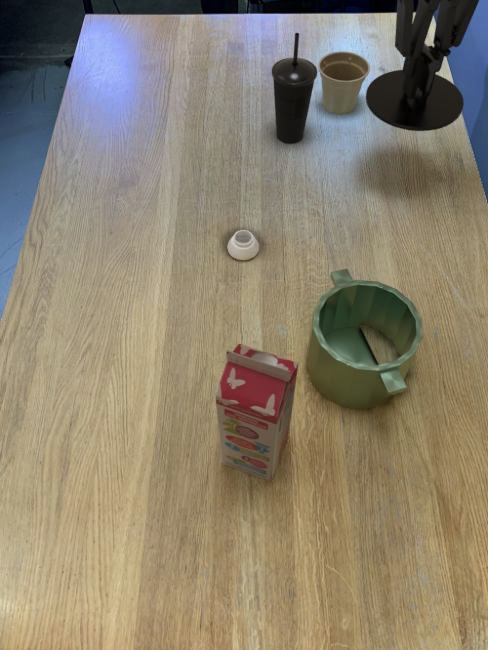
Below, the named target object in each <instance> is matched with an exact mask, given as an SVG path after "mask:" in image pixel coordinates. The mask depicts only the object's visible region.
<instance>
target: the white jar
mask: <svg viewBox="0 0 488 650" xmlns="http://www.w3.org/2000/svg"><path fill="white" fill-rule="evenodd" d="M226 248H227V252H228V254H229V255H230V256H231V257H232V258H234V259H236V260H239V261H240V260H241V261H246V260H251V259H254V258H255V257H256V256H257V255H258V254H259V251H260V244H259V241H258V239H256V237H255V236H254V235H253V233H252V232H250V231H249V230H247V229H241V230H238V231H236V232H234V235H232V237H231V238H230V239H229V241H228V243H227V246H226Z"/></svg>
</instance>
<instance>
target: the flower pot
mask: <svg viewBox="0 0 488 650" xmlns="http://www.w3.org/2000/svg"><path fill="white" fill-rule="evenodd" d="M317 68H318V69H317V70H318V72H319V76H320V78H321V96H322V97H321V98H322V99H321V101H322V102H321V103H322V107H323V108H324V109H325V110H326V111H327V112H328V113H331V114H335V115H345V114H349V113H351V112H352V111H353V110H354V109H355V108H356V104H357V100H358V97H359V95H360V91H361V89H362V86H363V83H364V82H365V80H366V77H368V75H369V74H370V71H371V65H370V62H369V61H368V60H367V59H366V58H365V57H363V56H362V55H360V54H358V53H355V52H352V51H346V50H345V51H343V50H341V51H333V52H330V53H327V54H325V55H324V56H322V57H321V58H320V59H319V61H318V63H317Z"/></svg>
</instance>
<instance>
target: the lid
mask: <svg viewBox="0 0 488 650" xmlns="http://www.w3.org/2000/svg"><path fill="white" fill-rule="evenodd" d="M428 46H429V45H428V44H426V42H425V43H424V46H423V49H422V52H421V55H422V56H423V57H424V63H423V64H424V65H425V66H426V67H427V69H428V73H427V77H426V81H425V85H424V88H423V92H421V90H420V89H419V88H418V87H417V91H416V95H415V99H409V98H408V96H407V95H406V93H405V92H404V91H403V84H404V80H405V75H404V73H403V69H397V70H392V71H388V72H385V73H383V74H381V75H379V76H377V77H376V78H374V79H372V81H371V82H370V84H369V85H368V86H367V89H366V93H365V102H366V105H367V108H368V109H369V111H370V112H371V113H372V114H373V115H374V117H376V118H377V119H378V120H380V121H381V122H383V123H385V124H387V125H390V126H392V127H394V128H397V129H401V130H406V131H414V132H430V131H435V130H439V129H443V128H446V127H448V126H449V125H451V124H453V123H455V122H456V121H457V120H458V119H459V117H460V116H461V114H462V112H463V109H464V106H465V105H464V104H465V101H464V96H463V94H462V91H460V89H459V87H457V86H456V85H455V83H453V82H452V81H450V80H448V79H447V78H445V77H443V76H441V75H439V74H435V78H434V81H433V85H432V89H431V92H430V96H428V94H429V90H430V86H431V83H432V79H433V75H434V72H435V71H436V70H437V69H438V68H439V67H440V64H441V63H440V61H439V59H438V58H437V57H436V56H435V55H434V54H433V52H432V51H431V50H430V49H429V48H428Z"/></svg>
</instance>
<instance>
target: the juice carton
mask: <svg viewBox="0 0 488 650" xmlns="http://www.w3.org/2000/svg"><path fill="white" fill-rule="evenodd" d="M298 368H299V362H296V361H293V360H291V359H287V358H284V357H281V356H279V355H276V354H273V353H269V352H267V351H264V350H260V349H257V348H254V347H252V346H248V345H245V344H242V343H238V344H237V345H236V346H235V348H234V349H233V350H232V351H230V350H229V349H227V350H226V363H225V366H224V368H223V371H222V374H221V377H220V380H219V383H218V386H217V389H216V392H215V395H214V396H215V397H214V398H215V406H216V415H217V427H218V437H219V447H220V448H219V449H220V457H221V464H222V465H225V466H228V467H230V468H232V469H236V470H238V471H241V472H244V473H247V474H249V475H250V476H254V477H256V478H259V479H262V480H265V481H267V482H269V483H272V481H273V479H274V476H275V474H276V470H277V468H278V466H279V463H280V460H281V457H282V455H283V452H284V450H285V446H286V444H287V442H288V438H289V435H290V430H291V429H290V428H291V422H292V414H293V407H294V399H295V393H296V385H297V378H298Z"/></svg>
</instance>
